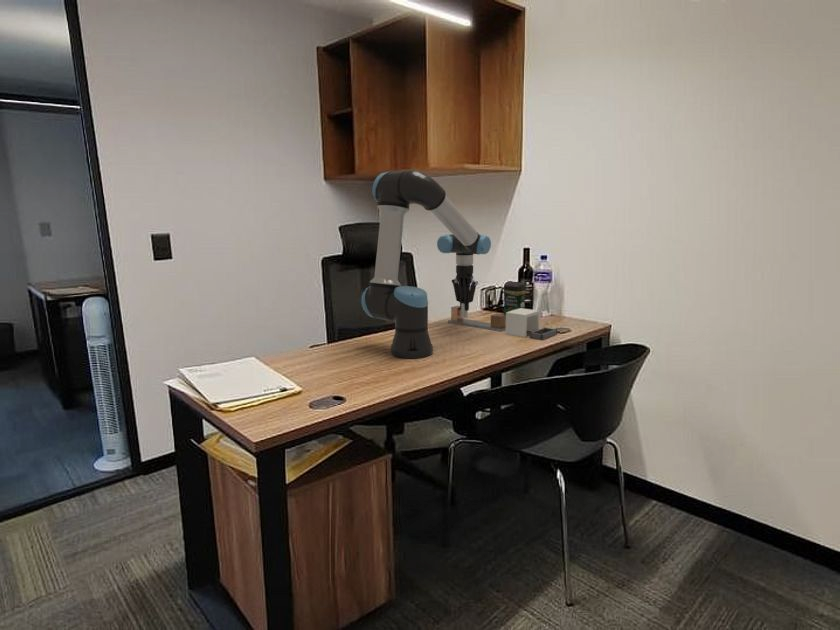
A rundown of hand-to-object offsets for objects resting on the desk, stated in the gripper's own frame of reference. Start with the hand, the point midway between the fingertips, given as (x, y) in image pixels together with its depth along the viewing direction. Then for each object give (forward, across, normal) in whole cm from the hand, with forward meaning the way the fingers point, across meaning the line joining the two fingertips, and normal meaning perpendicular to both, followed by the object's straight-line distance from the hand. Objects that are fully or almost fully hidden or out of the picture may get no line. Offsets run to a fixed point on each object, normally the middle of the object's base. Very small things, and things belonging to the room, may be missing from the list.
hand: (464, 317), depth 230 cm
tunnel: (+3, -29, 0) cm, 30 cm away
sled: (+3, -8, 0) cm, 8 cm away
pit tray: (+3, -39, 0) cm, 39 cm away
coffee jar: (+3, -16, -15) cm, 22 cm away
